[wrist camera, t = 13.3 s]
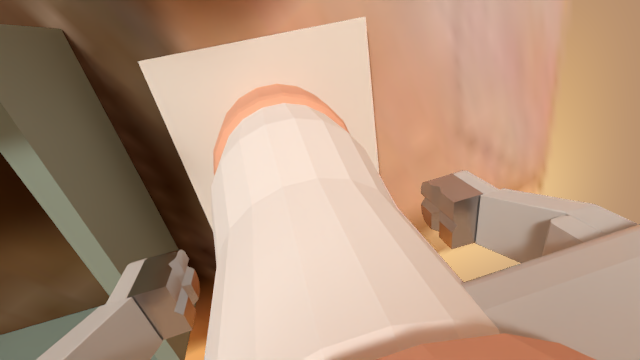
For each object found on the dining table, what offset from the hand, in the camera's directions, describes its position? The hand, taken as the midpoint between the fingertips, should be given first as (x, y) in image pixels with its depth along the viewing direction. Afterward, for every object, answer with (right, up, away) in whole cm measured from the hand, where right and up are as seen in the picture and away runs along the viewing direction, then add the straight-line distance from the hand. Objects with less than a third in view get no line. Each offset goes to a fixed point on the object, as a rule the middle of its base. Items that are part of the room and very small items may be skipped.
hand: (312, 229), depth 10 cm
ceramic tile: (-2, +4, +9) cm, 10 cm away
